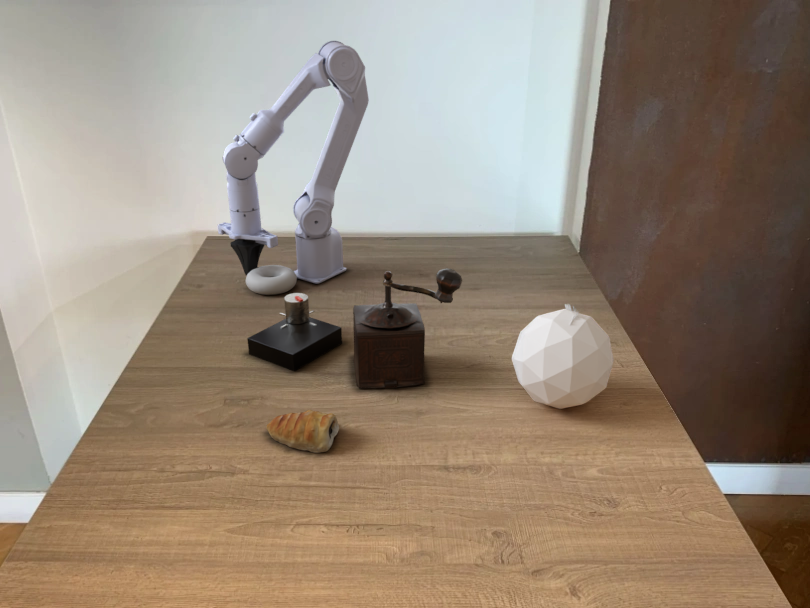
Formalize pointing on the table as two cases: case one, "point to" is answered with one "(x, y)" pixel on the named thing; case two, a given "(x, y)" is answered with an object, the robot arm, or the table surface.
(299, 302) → the stove knob
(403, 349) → the manual coffee grinder
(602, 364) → the geodesic sphere
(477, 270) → the table surface
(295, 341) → the stove
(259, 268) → the donut
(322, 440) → the pastry
